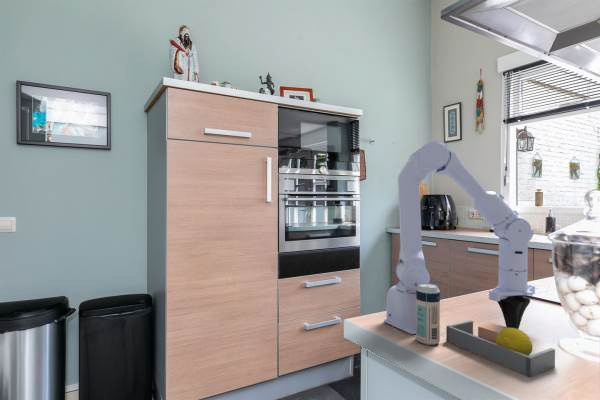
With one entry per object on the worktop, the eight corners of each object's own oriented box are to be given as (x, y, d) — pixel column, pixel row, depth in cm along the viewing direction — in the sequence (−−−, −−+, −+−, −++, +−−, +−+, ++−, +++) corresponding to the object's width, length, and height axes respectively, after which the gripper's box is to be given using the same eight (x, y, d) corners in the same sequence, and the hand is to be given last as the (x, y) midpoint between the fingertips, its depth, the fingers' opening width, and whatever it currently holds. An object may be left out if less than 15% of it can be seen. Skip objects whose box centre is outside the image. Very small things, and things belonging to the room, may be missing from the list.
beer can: (441, 340, 74) (441, 284, 74) (438, 348, 70) (438, 289, 70) (417, 335, 77) (418, 282, 77) (413, 343, 72) (414, 286, 72)
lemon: (518, 324, 69) (501, 318, 65) (545, 346, 65) (529, 341, 61) (501, 345, 70) (483, 340, 66) (526, 367, 66) (509, 364, 62)
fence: (446, 340, 74) (446, 325, 74) (470, 334, 78) (470, 320, 78) (529, 376, 59) (529, 358, 59) (554, 366, 62) (555, 349, 62)
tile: (478, 337, 77) (478, 326, 77) (489, 332, 80) (489, 322, 80) (501, 345, 73) (501, 333, 73) (512, 340, 75) (512, 328, 75)
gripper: (511, 275, 72) (511, 339, 72) (549, 269, 79) (548, 328, 79) (480, 269, 79) (479, 328, 78) (517, 264, 85) (517, 319, 85)
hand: (512, 328), depth 79 cm, fingers closed
